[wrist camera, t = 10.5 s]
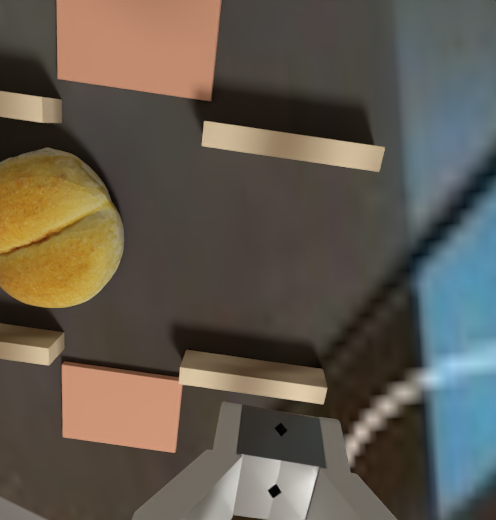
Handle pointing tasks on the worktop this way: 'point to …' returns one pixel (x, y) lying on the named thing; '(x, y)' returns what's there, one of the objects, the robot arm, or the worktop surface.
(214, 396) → the worktop surface
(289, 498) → the robot arm
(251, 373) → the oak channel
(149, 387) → the trap pads
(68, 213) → the bread roll
